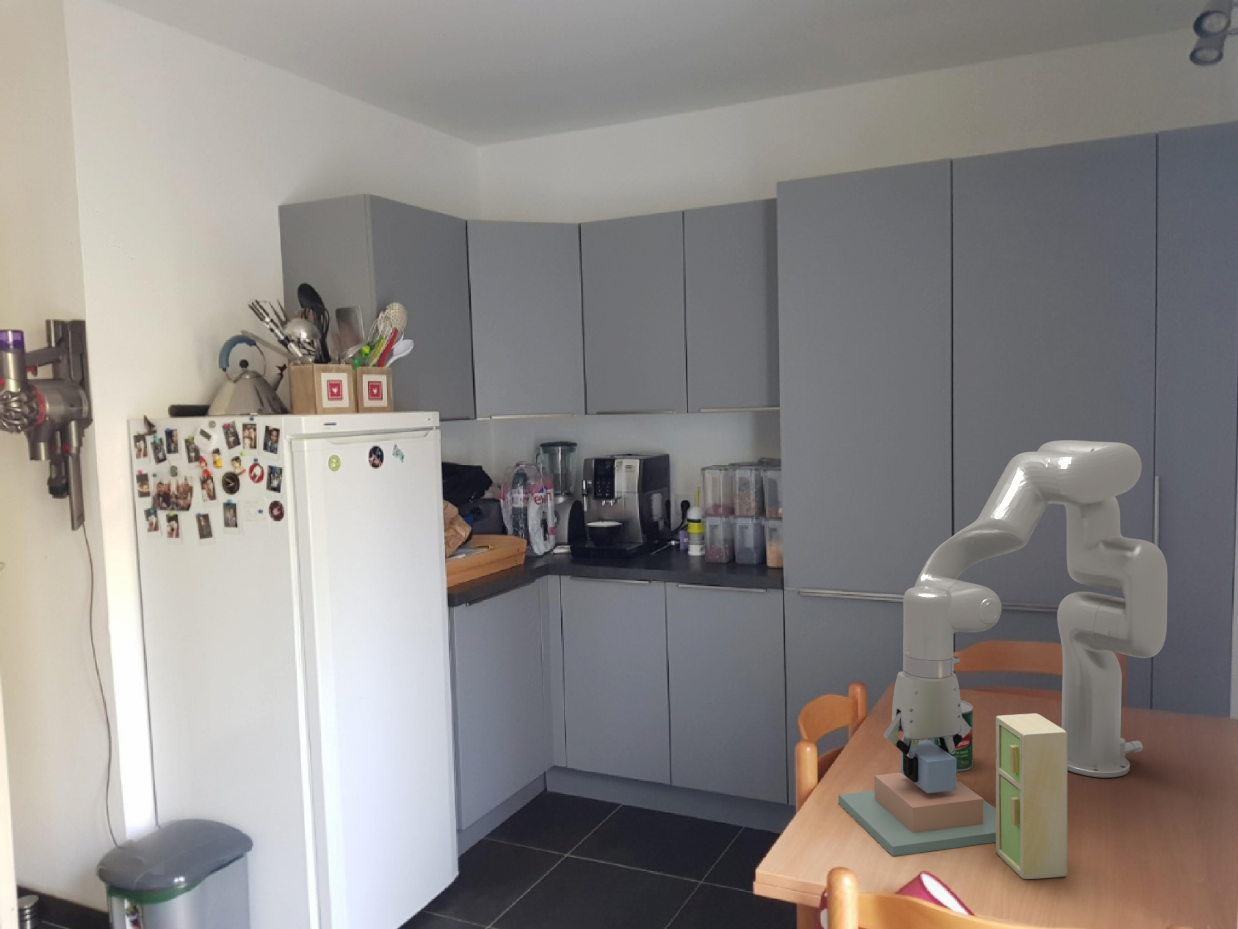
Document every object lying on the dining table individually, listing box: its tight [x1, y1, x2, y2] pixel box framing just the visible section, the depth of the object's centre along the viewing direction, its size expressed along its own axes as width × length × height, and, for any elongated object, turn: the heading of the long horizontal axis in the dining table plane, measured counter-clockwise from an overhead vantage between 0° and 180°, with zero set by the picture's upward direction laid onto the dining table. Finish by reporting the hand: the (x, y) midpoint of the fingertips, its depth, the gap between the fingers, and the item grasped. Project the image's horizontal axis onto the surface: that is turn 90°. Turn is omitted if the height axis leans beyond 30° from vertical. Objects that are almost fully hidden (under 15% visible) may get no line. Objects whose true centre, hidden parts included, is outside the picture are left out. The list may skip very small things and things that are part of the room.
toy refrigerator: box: [995, 712, 1068, 880], centre depth 130 cm, size 8×7×21 cm
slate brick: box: [900, 739, 957, 793], centre depth 144 cm, size 5×8×5 cm, turn 12°
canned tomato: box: [927, 699, 974, 773], centre depth 166 cm, size 8×8×11 cm
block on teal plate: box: [838, 772, 996, 857], centre depth 144 cm, size 22×18×6 cm
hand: (927, 776), depth 144 cm, fingers closed on slate brick, 4 cm apart
